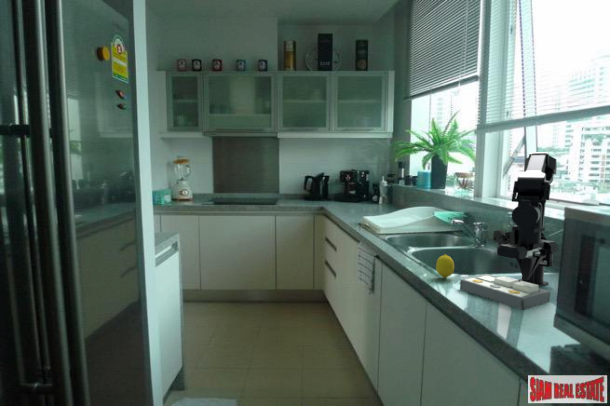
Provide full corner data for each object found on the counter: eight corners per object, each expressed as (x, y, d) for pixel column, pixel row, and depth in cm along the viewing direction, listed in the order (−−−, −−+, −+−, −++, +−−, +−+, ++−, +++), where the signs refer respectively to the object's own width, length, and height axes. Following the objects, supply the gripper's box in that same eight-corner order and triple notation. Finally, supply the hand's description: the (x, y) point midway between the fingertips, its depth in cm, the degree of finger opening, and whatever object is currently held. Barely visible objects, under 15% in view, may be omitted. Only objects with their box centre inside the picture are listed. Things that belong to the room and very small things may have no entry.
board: (485, 283, 118) (486, 273, 118) (549, 302, 101) (550, 290, 101) (460, 289, 112) (460, 278, 112) (522, 310, 96) (523, 297, 95)
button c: (522, 289, 106) (522, 280, 105) (538, 294, 102) (538, 285, 102) (512, 292, 103) (512, 283, 103) (528, 296, 100) (528, 287, 99)
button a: (486, 283, 115) (486, 275, 115) (499, 287, 111) (500, 279, 111) (477, 285, 113) (477, 277, 113) (490, 289, 109) (490, 281, 109)
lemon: (449, 275, 126) (450, 252, 125) (456, 280, 121) (457, 256, 120) (433, 276, 126) (433, 252, 125) (439, 281, 121) (440, 256, 120)
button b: (503, 284, 110) (503, 276, 110) (518, 288, 107) (518, 279, 106) (494, 286, 108) (494, 278, 108) (508, 291, 104) (509, 282, 104)
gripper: (520, 217, 112) (517, 268, 114) (479, 221, 103) (477, 277, 105) (560, 221, 103) (556, 277, 104) (519, 227, 94) (516, 288, 95)
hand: (525, 279), depth 102 cm, fingers closed
